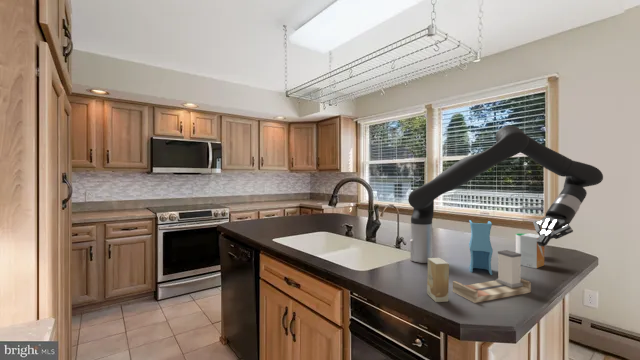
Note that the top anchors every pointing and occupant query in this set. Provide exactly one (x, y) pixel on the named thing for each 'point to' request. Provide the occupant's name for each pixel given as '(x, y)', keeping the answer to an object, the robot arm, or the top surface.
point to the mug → (518, 242)
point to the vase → (480, 246)
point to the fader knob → (509, 268)
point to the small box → (531, 251)
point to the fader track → (489, 290)
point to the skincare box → (438, 279)
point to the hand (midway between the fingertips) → (540, 244)
